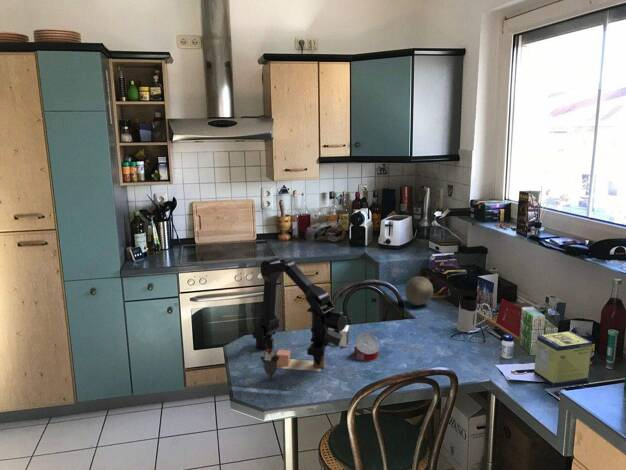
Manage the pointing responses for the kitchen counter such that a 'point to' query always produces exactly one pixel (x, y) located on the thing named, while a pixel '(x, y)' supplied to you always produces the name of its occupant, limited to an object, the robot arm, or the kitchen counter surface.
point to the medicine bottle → (344, 336)
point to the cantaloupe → (419, 290)
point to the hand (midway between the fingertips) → (319, 362)
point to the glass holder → (468, 313)
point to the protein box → (562, 358)
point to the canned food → (366, 347)
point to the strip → (305, 364)
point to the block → (283, 357)
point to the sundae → (270, 362)
